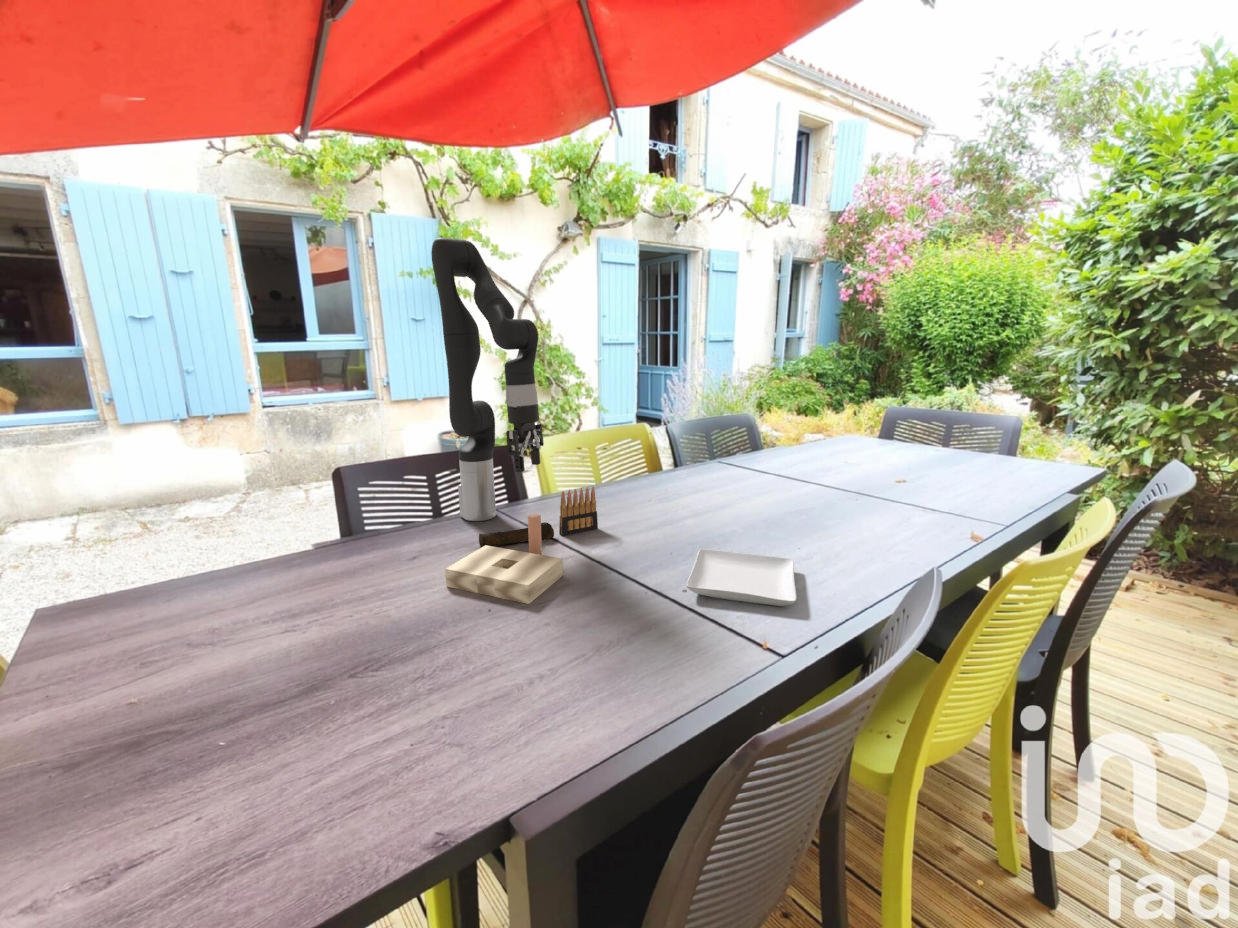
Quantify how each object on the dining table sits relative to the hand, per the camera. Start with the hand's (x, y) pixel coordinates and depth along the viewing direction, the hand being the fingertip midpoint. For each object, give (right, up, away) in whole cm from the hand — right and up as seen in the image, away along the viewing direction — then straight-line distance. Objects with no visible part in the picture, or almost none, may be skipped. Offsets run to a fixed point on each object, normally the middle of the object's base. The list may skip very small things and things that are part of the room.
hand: (528, 468), depth 137 cm
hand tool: (-3, -19, +2) cm, 20 cm away
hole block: (-2, -24, -20) cm, 31 cm away
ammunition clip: (+12, -17, +10) cm, 23 cm away
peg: (+3, -21, -7) cm, 22 cm away
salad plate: (+49, -25, -21) cm, 59 cm away
